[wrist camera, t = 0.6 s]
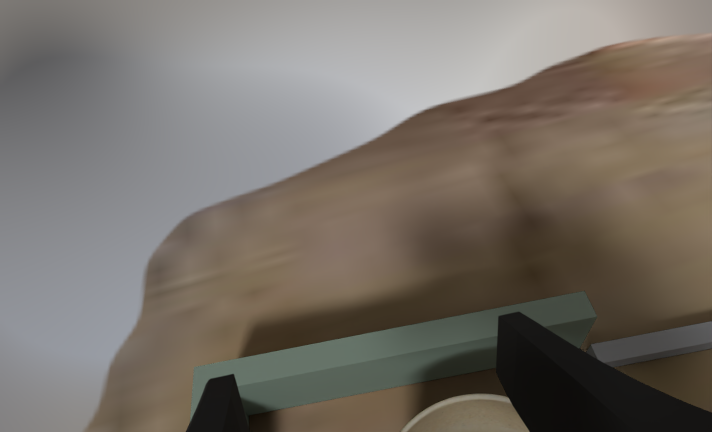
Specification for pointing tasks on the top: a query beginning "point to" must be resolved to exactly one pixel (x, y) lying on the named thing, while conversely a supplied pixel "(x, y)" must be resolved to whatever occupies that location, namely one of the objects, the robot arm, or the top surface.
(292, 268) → the top surface
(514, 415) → the flower pot
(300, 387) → the cold frame
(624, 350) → the edging
